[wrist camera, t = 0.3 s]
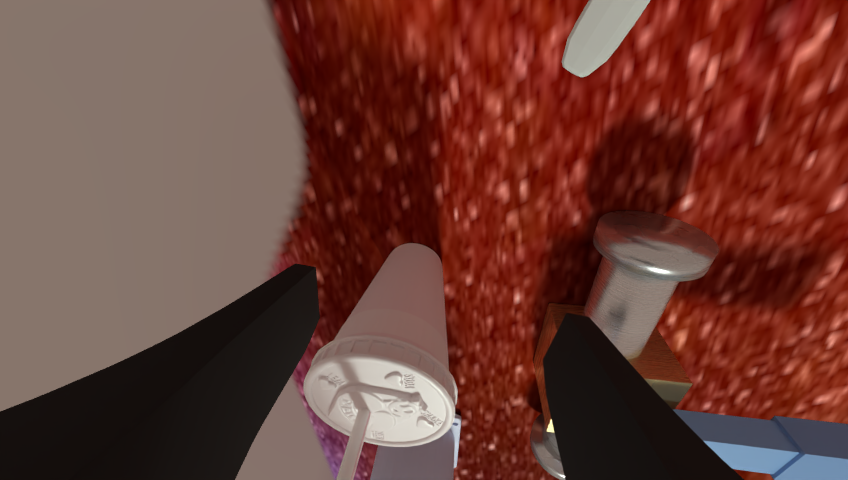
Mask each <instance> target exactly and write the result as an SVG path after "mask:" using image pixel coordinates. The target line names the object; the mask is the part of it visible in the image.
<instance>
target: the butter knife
mask: <svg viewBox="0 0 848 480" xmlns="http://www.w3.org/2000/svg"><path fill="white" fill-rule="evenodd" d="M649 2H650V0H589V1H588V3H587V5H586V6H585V8H584V10H583V12H582V13H581V15H580V17H579V18H578V20H577V22H576V24H575V26H574V28H573V30H572V31H571V33H570V35H569V37H568V40H567V43H566V47H565V51H564V55H563V59H562V64H563V67H564V68H565V69H567V70H568V71H570V72H571V73H573V74H575V75H577V76H580V77H585V76H588V75H589V74H590V73H592V72H593V71H594V70H596V69H597V68H598V67H599V66H601V65H602V64H603V63H605V62H606V61H607V60H608V59H609V57H610V56H611V55H612V54H613V52H614V51H615V50H616V48H617V47H618V46H619V45H620V43H621V42H622V40H623V39H624V38H625V36H626V35H627V33H628V32H629V31H630V29H631V28H632V26H633V25H634V24H635V22H636V21H637V19H638V18H639V17H640V15H641V14H642V12H643V11H644V9H645V8H646V6H647V5H648V3H649Z"/></svg>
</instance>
